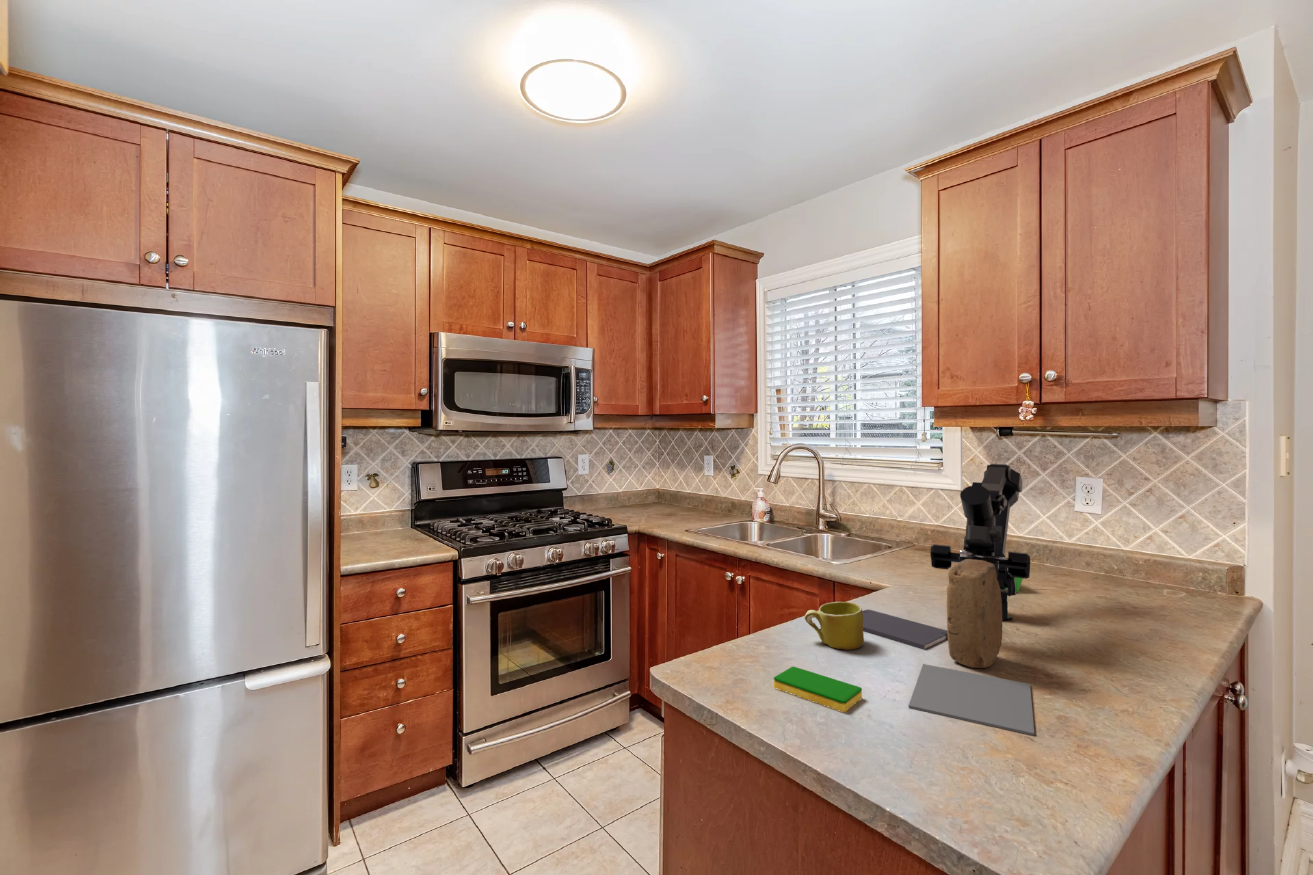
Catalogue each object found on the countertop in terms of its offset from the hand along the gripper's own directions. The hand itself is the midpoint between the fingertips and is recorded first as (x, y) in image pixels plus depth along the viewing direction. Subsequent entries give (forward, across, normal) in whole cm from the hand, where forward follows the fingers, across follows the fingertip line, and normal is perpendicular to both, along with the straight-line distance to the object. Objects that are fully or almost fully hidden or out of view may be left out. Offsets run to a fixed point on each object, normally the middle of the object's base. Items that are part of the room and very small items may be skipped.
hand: (977, 594), depth 123 cm
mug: (+15, -27, +4) cm, 31 cm away
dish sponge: (+34, -24, -13) cm, 43 cm away
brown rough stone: (+11, 0, +6) cm, 13 cm away
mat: (+24, 0, -5) cm, 25 cm away
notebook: (+4, -17, +15) cm, 23 cm away
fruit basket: (-35, +3, +50) cm, 61 cm away
